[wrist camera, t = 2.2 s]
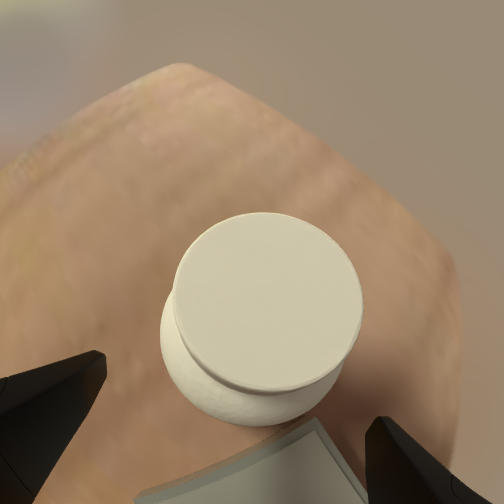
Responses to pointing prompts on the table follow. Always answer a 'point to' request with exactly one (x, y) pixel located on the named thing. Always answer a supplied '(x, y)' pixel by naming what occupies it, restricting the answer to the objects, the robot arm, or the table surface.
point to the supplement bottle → (260, 319)
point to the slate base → (270, 474)
